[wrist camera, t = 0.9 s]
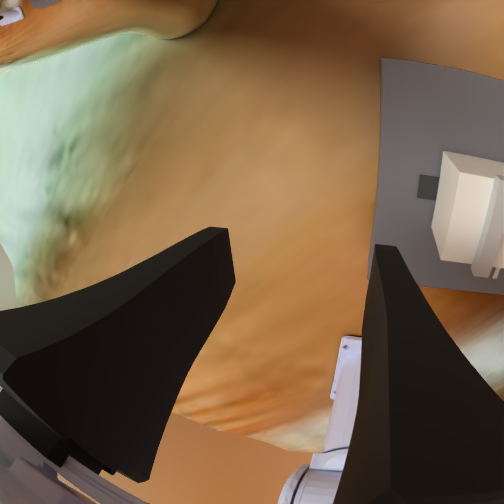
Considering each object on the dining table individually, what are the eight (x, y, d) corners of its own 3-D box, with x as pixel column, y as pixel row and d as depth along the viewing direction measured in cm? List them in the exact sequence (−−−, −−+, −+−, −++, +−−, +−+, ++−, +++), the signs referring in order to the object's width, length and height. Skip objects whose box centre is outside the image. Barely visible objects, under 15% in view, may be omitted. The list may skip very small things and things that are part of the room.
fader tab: (494, 239, 13) (515, 281, 10) (430, 229, 14) (441, 272, 11) (513, 161, 11) (545, 190, 8) (443, 146, 12) (464, 172, 9)
